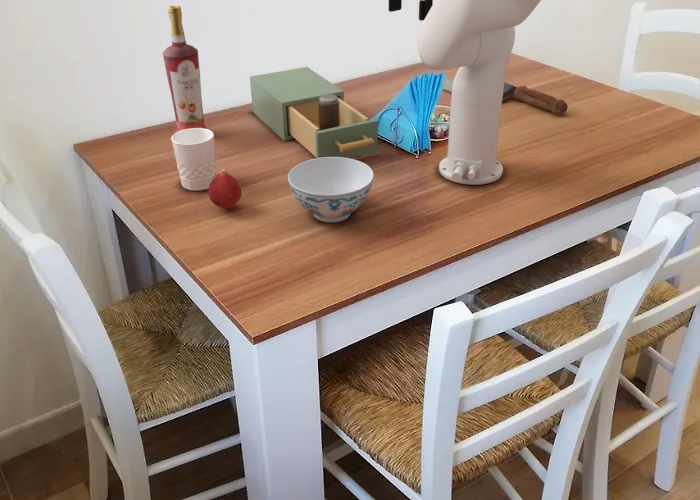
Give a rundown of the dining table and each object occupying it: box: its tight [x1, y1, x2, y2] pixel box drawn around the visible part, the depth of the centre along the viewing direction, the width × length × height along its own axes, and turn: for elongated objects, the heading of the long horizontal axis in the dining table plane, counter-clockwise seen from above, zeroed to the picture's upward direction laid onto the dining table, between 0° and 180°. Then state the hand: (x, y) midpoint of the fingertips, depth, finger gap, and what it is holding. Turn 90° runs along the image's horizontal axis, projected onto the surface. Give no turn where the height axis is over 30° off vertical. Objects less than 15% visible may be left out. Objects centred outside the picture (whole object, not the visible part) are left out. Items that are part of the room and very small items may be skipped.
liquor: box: [162, 5, 208, 133], centre depth 152 cm, size 7×7×28 cm
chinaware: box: [287, 157, 375, 223], centre depth 126 cm, size 15×15×8 cm
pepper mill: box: [318, 95, 340, 131], centre depth 150 cm, size 4×4×9 cm
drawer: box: [286, 98, 379, 159], centre depth 150 cm, size 23×14×7 cm, turn 27°
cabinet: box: [249, 66, 345, 142], centre depth 164 cm, size 20×15×9 cm
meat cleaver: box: [443, 76, 568, 116], centre depth 175 cm, size 34×11×4 cm, turn 36°
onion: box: [208, 169, 242, 211], centre depth 128 cm, size 6×6×8 cm
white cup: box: [170, 128, 217, 192], centre depth 137 cm, size 8×8×10 cm
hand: (409, 14), depth 150 cm, fingers open, 9 cm apart
